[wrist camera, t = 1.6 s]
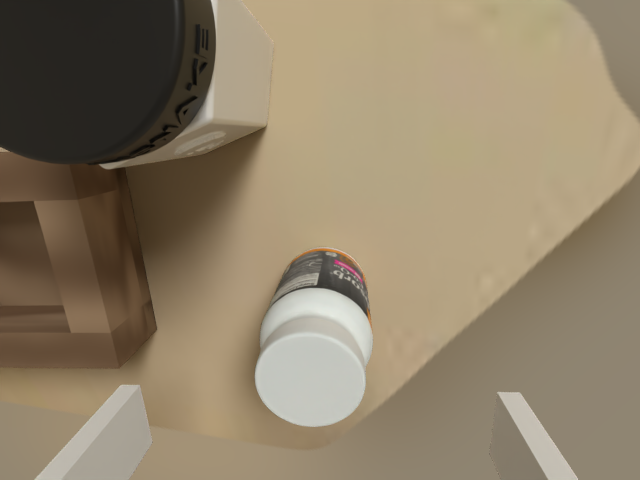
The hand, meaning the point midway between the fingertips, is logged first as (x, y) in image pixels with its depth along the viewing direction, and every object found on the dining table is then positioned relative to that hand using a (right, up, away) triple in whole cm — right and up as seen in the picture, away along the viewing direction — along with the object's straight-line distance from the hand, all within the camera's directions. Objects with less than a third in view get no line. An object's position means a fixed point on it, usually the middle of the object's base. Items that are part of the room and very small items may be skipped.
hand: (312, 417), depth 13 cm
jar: (-6, +16, +8) cm, 19 cm away
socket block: (-19, +6, +11) cm, 23 cm away
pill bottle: (+1, +4, +11) cm, 12 cm away
